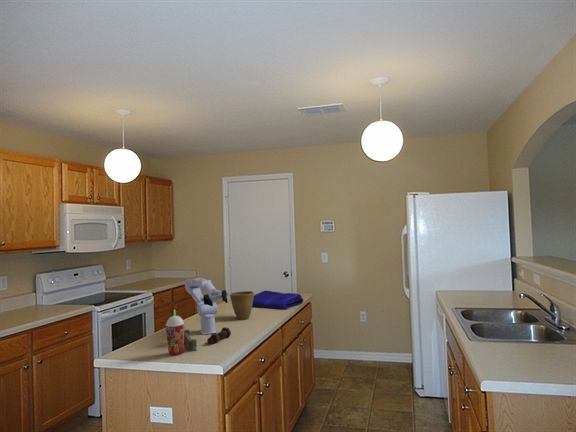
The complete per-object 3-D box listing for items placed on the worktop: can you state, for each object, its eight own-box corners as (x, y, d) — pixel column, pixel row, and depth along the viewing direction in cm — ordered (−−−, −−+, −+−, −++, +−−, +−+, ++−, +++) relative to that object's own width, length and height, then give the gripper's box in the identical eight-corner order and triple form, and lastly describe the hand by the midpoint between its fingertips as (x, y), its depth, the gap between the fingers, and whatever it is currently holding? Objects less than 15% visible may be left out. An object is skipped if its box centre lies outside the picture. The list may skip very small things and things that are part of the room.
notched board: (183, 339, 205) (182, 330, 205) (189, 339, 206) (188, 329, 207) (189, 351, 185) (189, 340, 185) (196, 350, 186) (196, 339, 186)
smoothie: (187, 350, 187) (185, 307, 187) (183, 356, 179) (181, 311, 179) (169, 351, 187) (167, 308, 187) (164, 357, 178) (162, 312, 179)
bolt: (208, 348, 195) (225, 339, 208) (215, 344, 193) (232, 335, 207) (203, 338, 196) (220, 329, 210) (210, 333, 194) (227, 325, 208)
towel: (286, 310, 269) (285, 297, 269) (243, 307, 287) (243, 295, 287) (304, 303, 291) (304, 291, 291) (264, 300, 309) (263, 289, 310)
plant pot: (256, 315, 255) (255, 290, 256) (252, 321, 241) (251, 294, 241) (233, 316, 257) (233, 291, 257) (228, 321, 242) (227, 295, 243)
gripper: (197, 288, 208) (205, 298, 196) (223, 282, 215) (232, 292, 203) (198, 300, 210) (205, 311, 198) (224, 294, 216) (233, 305, 205)
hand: (219, 302), depth 201 cm, fingers open, 7 cm apart
